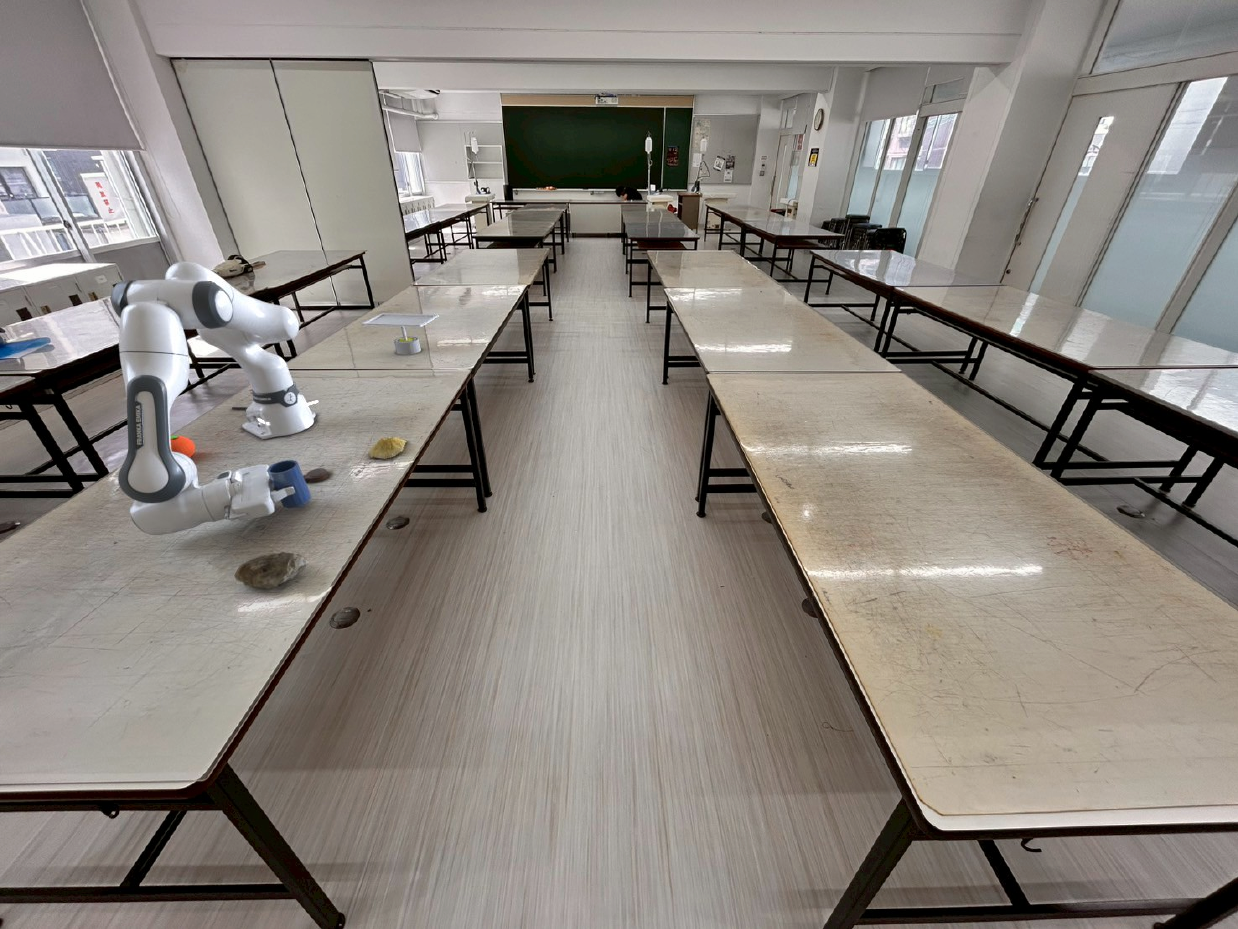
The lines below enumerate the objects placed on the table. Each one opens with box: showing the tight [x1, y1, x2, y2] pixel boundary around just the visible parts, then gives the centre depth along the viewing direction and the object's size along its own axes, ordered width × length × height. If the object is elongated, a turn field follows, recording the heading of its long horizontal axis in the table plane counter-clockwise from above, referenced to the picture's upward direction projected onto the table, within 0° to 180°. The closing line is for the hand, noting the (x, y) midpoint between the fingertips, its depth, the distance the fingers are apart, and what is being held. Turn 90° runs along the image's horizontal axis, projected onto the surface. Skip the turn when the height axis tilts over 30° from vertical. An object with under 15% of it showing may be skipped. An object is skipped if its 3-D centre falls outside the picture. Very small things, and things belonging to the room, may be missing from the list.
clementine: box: [170, 435, 196, 458], centre depth 145 cm, size 8×7×7 cm
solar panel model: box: [360, 312, 440, 356], centre depth 224 cm, size 28×17×15 cm, turn 82°
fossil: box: [368, 436, 407, 460], centre depth 148 cm, size 11×6×10 cm
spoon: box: [273, 467, 329, 491], centre depth 134 cm, size 19×5×2 cm, turn 122°
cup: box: [267, 459, 312, 509], centre depth 122 cm, size 6×6×10 cm
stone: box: [233, 551, 309, 590], centre depth 102 cm, size 13×8×8 cm
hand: (293, 481), depth 122 cm, fingers closed on cup, 6 cm apart
